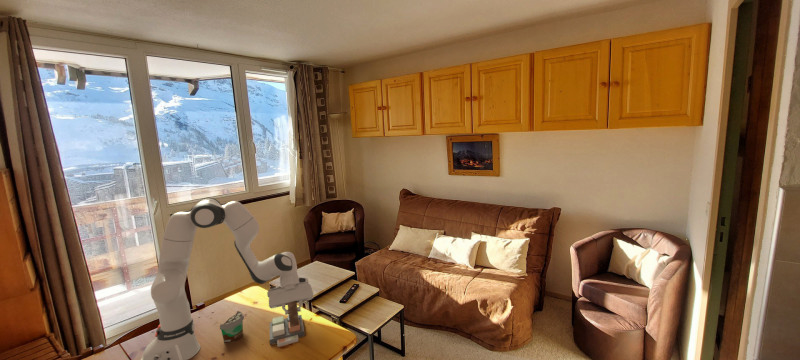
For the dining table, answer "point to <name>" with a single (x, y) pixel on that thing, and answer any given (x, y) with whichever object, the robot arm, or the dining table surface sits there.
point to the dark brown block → (293, 313)
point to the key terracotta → (294, 328)
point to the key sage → (277, 320)
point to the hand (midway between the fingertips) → (293, 312)
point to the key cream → (278, 330)
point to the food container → (233, 328)
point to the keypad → (286, 334)
